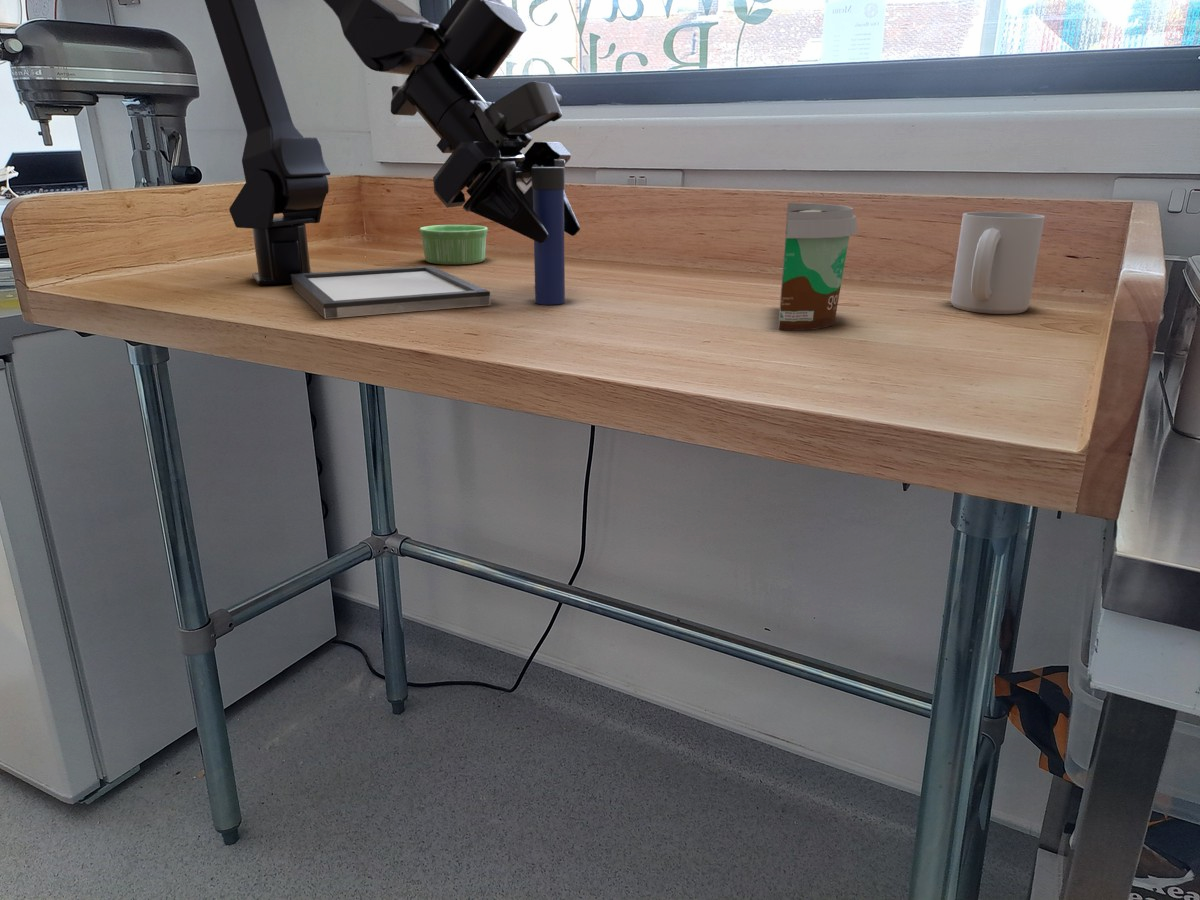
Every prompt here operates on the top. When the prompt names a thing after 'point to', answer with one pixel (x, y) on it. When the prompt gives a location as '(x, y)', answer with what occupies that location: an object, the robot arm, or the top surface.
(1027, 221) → the cup
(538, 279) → the marker
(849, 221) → the food container
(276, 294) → the top surface
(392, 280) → the whiteboard
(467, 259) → the ramekin
